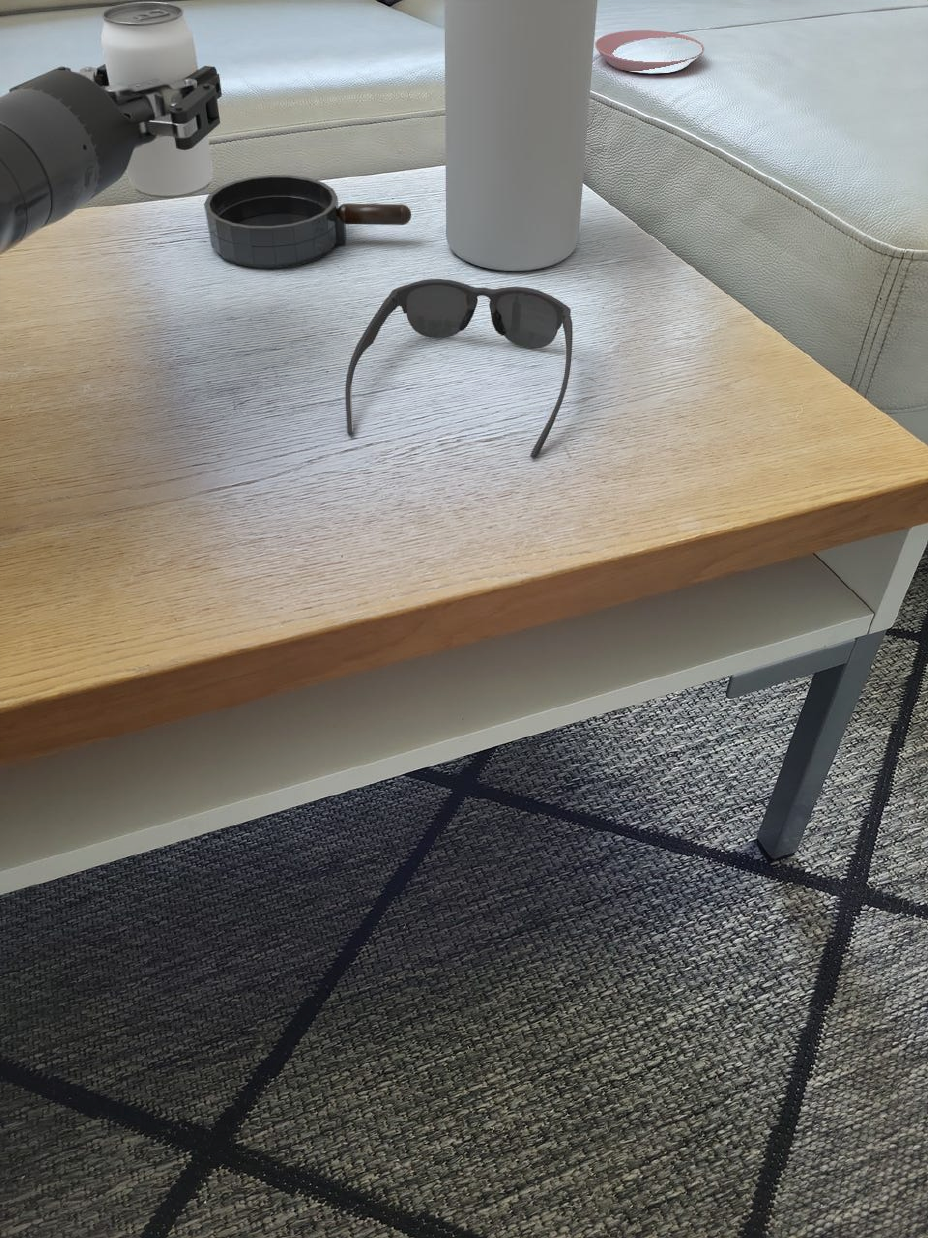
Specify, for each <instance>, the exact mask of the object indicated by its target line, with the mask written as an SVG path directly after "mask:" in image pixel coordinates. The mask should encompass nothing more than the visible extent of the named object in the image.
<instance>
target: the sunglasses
mask: <svg viewBox="0 0 928 1238" xmlns="http://www.w3.org/2000/svg"><path fill="white" fill-rule="evenodd" d="M481 296H482V297H487V298H488V299H489V311H490V316H491V323H492V327H493V328H494V330H495V331H496V333H497V334H498V335H500V336H504V337H505V338H506V339H507V340H508V341H509V342H510V343H512V344H513V345H515V346H517V347H520V348H523V349H531V350H538V349H543V348H545V347H547V346H549V345H551V344H552V342H553V341H554V340H555V338H556V336H557V334H558V331H559V330H560V329H561V327H562V328H563V333H564V339H565V367H564V374H563V379H562V384H561V387H560V391H559V395H558V397H557V400H556V403H555V406H554V408H553V410H552V411H551V414H550V416H549V418H548V419H547V420H548V421H547V422H546V425H545V426H544V428H543V430H542V432H541V434H540V435H539V437H538V439H537V441H536V442H535V444H534V446H533V448H532V450H531V452H530V458H536V457H537V456H538V455H539V454H540V452H541V451H542V449H543V447H544V444H545V442H546V440H547V439H548V437H549V434H550V433H551V430H552V428H553V426H554V423H555V421H556V418H557V416H558V413H559V412H560V409H561V406H562V404H563V400H564V398H565V394H566V391H567V388H568V383H569V378H570V375H571V367H572V356H573V355H572V354H573V340H574V339H573V337H574V336H573V335H574V331H573V320H572V315H571V314H572V313H571V308H570V307H569V306H568V305H566V304H565V303H563V302H562V301H561V300H559V299H557V298H556V297H554V296H552V295H550V294H548V293H546V292H544V291H541V290H539V289H536V288H531V287H526V286H525V287H524V286H507V287H500V288H499V287H498V288H495V289H494V288H488V287H474V286H471V285H469V284H466V283H463V282H461V281H456V280H452V279H443V278H429V279H422V280H418V281H414V282H411V283H408V284H405V285H401V286H399V287H397V288H394V289H392V290H391V292H390V293H389V294H388V296H387V297H386V298H385V299H384V300H383V302H382V304H381V305H380V307H379V308H378V310H377V311H376V313H375V314H374V316H373V317H372V319H371V320H370V322H369V324H368V326H367V327H366V329H365V330H364V332H363V333H362V335H361V337H360V339H359V341H358V343H357V344H356V346H355V349H354V351H353V354H352V356H351V358H350V361H349V365H348V368H347V372H346V380H345V391H344V392H345V413H346V431H347V435H349V436H352V435H353V433H354V432H353V430H354V419H353V418H354V417H353V404H352V399H353V397H352V395H353V394H352V393H353V391H352V390H353V379H354V374H355V370H356V367H357V365H358V364H359V363H358V362H359V360H360V359H361V357H362V355H363V354H364V353H365V352H366V351H367V350H368V348H369V347H370V346H372V345H373V344H374V343H375V341H376V338H377V336H378V335H379V333H380V330H381V328H382V327H383V325H384V323H385V322H386V320H387V319H388V317H389V316H391V314H392V313H393V312H394V311H395V310H396V309H397V308H398V307H401V309H402V312H403V314H405V315H406V319H407V321H408V324H409V325H410V326H411V329H413V331H415V332H416V333H417V334H419V335H420V336H423V337H425V338H431V339H446V338H447V339H448V338H450V337H453V336H456V335H457V334H459V333H460V332H463V331H464V330H465V329H467V327H468V325H469V324H470V322H471V320H472V318H473V316H474V314H475V311H476V308H477V306H478V301H479V299H478V298H479V297H481Z"/></svg>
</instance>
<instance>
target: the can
mask: <svg viewBox="0 0 928 1238" xmlns="http://www.w3.org/2000/svg"><path fill="white" fill-rule="evenodd" d="M101 17H102V19H103V26H102V30H101V36H100V43H101V48H102V49H101V50H102V54H103V59H104V64H105V65H106V70H107V75H108V80H109V85H114V84H119V83H122V84H124V85H126V86H127V85H131V84H135V83H140V82H144V81H148V80H152V79H159V80H161V81H164V82H166V83H172V82H176V81H180V80H183V79H184V78H186V77H187V76H189V75H191V74H193V73H194V72H196V71H197V70H199V66H198V60H197V52H196V46H195V40H194V36H193V33H192V30H191V28H190V27H189V25H188V23H187V21H186V20H185V18H184V9H183V8H182V6H179V5H177V4H174V3H169V2H163V1H136V2H128V3H121V4H117V5H114V6H111V7H108V8H107V9H105V10H103V11H102V13H101ZM146 96H147V97H148V98H149V100H150V102H151V105H152V108H153V111H154V114H155V116H156V117H158V115H157V110H156V104H155V98H154V94H150V95H146ZM181 100H182V95H181V94H178V95H175V96H174V97H173V103H178V102H180V101H181ZM212 161H213V160H212V154H211V148H210V141H209V134H208V135H206V136H205V137H204V138H203V139H202V140H201V141H200V142H199V143H197V144H196V145H195V146H194V147H193V148H191V149H188V150H181V149H177V148H176V144H175V138H174V137H171V136H164V137H160V138H157V139H154V140H153V141H152V142H150V143H146V144H143V145H142V146H141V147H138V148H135V149H134V151H133V153H132V156H131V159H130V161H129V164H128V167H127V169H126V173H127V177H128V181H129V184H130V186H131V187H132V188H133V189H134V190H135V191H136V192H137V193H139V194H142V195H144V196H147V197H150V198H151V197H152V198H159V199H171V198H172V199H173V198H183V197H188V196H192V195H196V194H198V193H200V192H202V191H204V190H205V189H207V188H208V187H209V186H210V184H211V182H212V180H213V178H214V168H213V162H212Z"/></svg>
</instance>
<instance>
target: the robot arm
mask: <svg viewBox="0 0 928 1238" xmlns="http://www.w3.org/2000/svg"><path fill="white" fill-rule="evenodd" d="M220 77H221V76H220V73H218V71H217V68H216V67H215V66H211V65H203V66H202V67H201V68H198V70H197V71H196V72H194V73H193V74H191V75H189V76H187V77H186V78H184V79H183V80H180V81H176V82H172V83H166V82H164V81H161V80H159V79H152V80H148V81H144V82H140V83H135V84H131V85H127V86H126V85H124V84H122V83H119V84H114V85H109V80H108V75H107V70H106V65H105V63H104V64H102V65H100V66H98V67H97V68H96V67H92V66H85V67H83V68H81V69H80V70H79V71H76V72H75V71H72V69H71V68H70V67H65V66H59V67H56V68H53V69H52V70H50V71H48V72H45V73H43V74H41V75H38V76H35V77H34V78H31V79H29V80H26V81H25V82H22V83H20V84H17V85H15V86H13V87H10V88H9V89H8V90H9V92H7V93H6V94H4V95H2V96H0V256H2V255H3V254H5V253H6V252H8V251H10V250H11V249H13V248H14V247H17V245H19V244H21V243H22V242H24V241H25V240H26V239H28V238H29V237H31V236H33V235H34V234H36V233H37V232H38V231H40V230H41V229H43V228H45V227H48V226H51V225H52V224H55V223H57V222H59V221H61V220H63V219H64V218H66V217H67V216H69V215H70V214H72V213H74V212H75V211H76V210H78V209H79V208H81V207H82V206H83V205H85V204H86V203H88V202H89V201H91V200H93V199H94V198H95V197H96V196H98V195H99V194H101V193H102V192H104V191H105V190H107V189H108V188H109V187H111V186H112V185H114V184H116V183H117V182H118V181H119V180H120V179H121V178H122V177H123V176H124V174H125V172H127V167H128V164H129V161H130V159H131V156H132V153H133V151H134V149H135V148H138V147H141V146H142V145H143V144H146V143H150V142H152V141H153V140H154V139H157V138H160V137H164V136H171V137H174V138H175V144H176V148H177V149H181V150H188V149H191V148H193V147H194V146H195V145H196V144H197V143H199V142H200V141H201V140H202V139H203V138H204V137H205V136H206V135H208V136H209V134H210V133H211V132H212V131H213V130H214V129H216V128H217V127H218V126H219V125H220V124H221V118H220V111H219V103H218V99H220V98H222V95H223V92H222V86H221V84H222V83H221V78H220ZM150 94H154V98H155V104H156V110H157V115H158V117H156V116H155V114H154V111H153V108H152V105H151V102H150V100H149V98H148V97H147V96H146V95H150ZM178 94H181V95H182V100H181V101H180V102H178V103H173V97H174V96H175V95H178Z"/></svg>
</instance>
